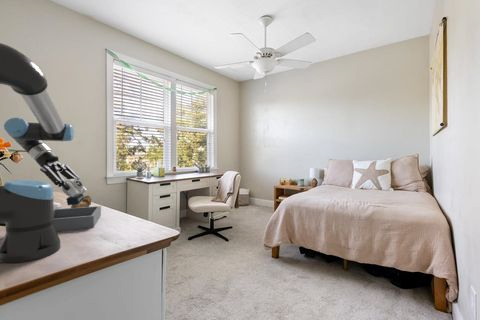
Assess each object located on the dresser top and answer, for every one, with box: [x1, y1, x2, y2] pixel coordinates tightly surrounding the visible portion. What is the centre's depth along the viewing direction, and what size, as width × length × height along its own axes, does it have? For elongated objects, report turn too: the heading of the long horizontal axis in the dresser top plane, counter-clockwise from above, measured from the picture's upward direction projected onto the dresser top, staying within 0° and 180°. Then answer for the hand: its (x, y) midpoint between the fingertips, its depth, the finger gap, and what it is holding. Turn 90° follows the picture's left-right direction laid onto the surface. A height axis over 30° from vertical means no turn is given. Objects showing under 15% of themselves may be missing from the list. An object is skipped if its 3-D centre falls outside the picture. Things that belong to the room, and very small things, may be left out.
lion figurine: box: [70, 194, 92, 208], centre depth 124 cm, size 15×5×9 cm, turn 1°
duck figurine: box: [53, 201, 62, 209], centre depth 123 cm, size 12×8×11 cm
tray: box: [53, 205, 102, 232], centre depth 108 cm, size 20×20×5 cm
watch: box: [61, 179, 85, 206], centre depth 108 cm, size 6×8×11 cm
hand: (79, 193), depth 108 cm, fingers closed on watch, 5 cm apart
